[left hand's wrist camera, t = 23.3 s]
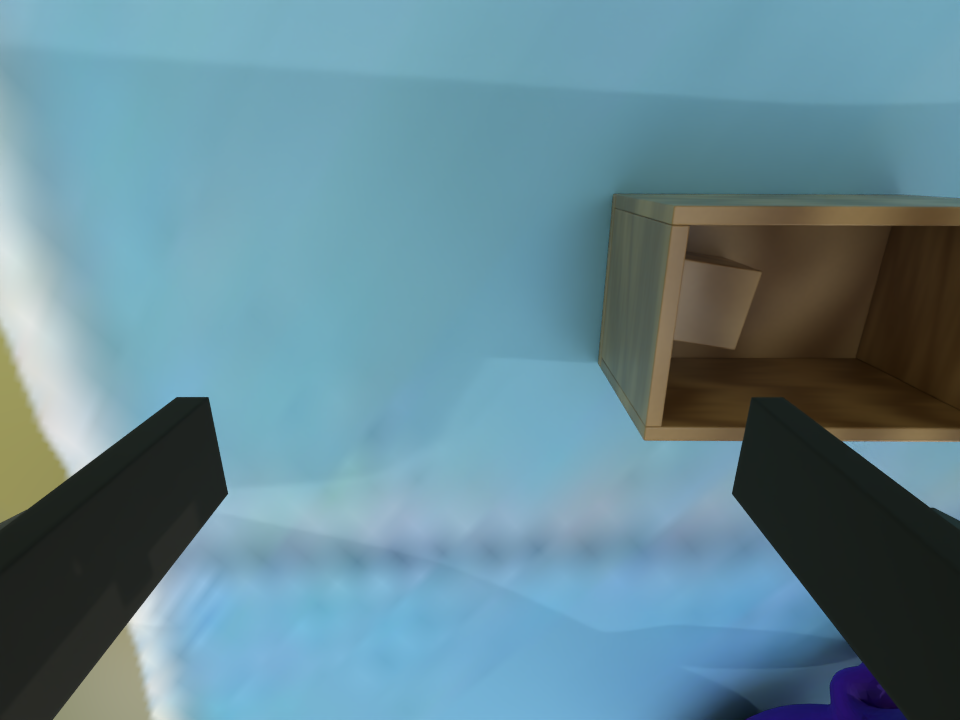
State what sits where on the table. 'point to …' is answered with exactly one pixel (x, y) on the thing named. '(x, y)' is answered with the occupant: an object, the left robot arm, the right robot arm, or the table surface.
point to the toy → (843, 701)
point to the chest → (790, 314)
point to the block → (714, 300)
